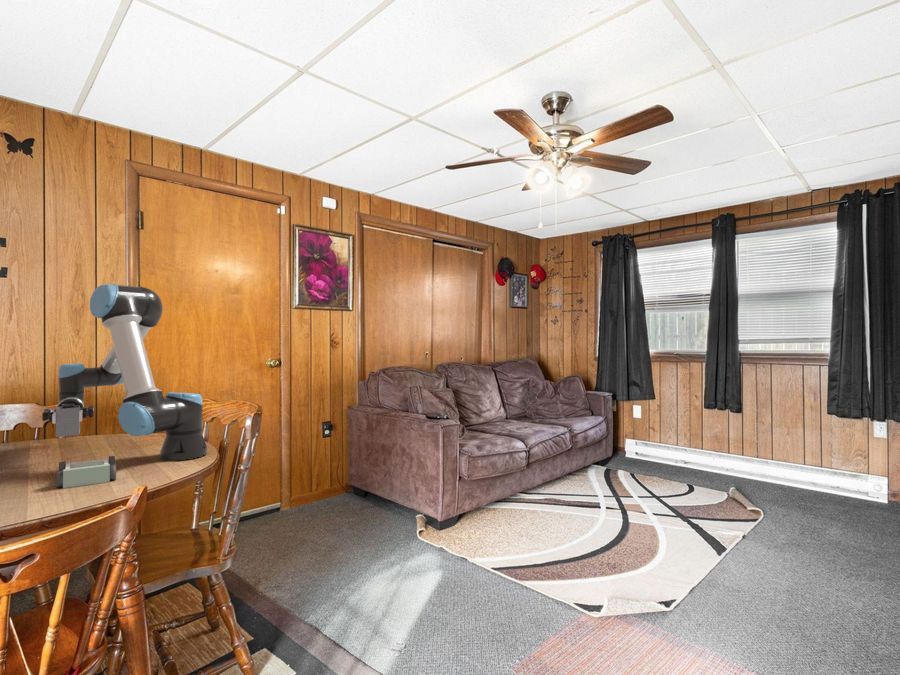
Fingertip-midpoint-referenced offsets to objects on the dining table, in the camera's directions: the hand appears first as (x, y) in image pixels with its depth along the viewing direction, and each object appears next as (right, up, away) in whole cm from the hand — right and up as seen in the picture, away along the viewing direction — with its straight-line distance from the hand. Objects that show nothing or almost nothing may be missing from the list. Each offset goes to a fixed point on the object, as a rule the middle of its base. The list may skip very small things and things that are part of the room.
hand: (67, 418), depth 155 cm
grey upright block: (-3, -6, +4) cm, 8 cm away
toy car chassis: (+11, -17, -6) cm, 21 cm away
